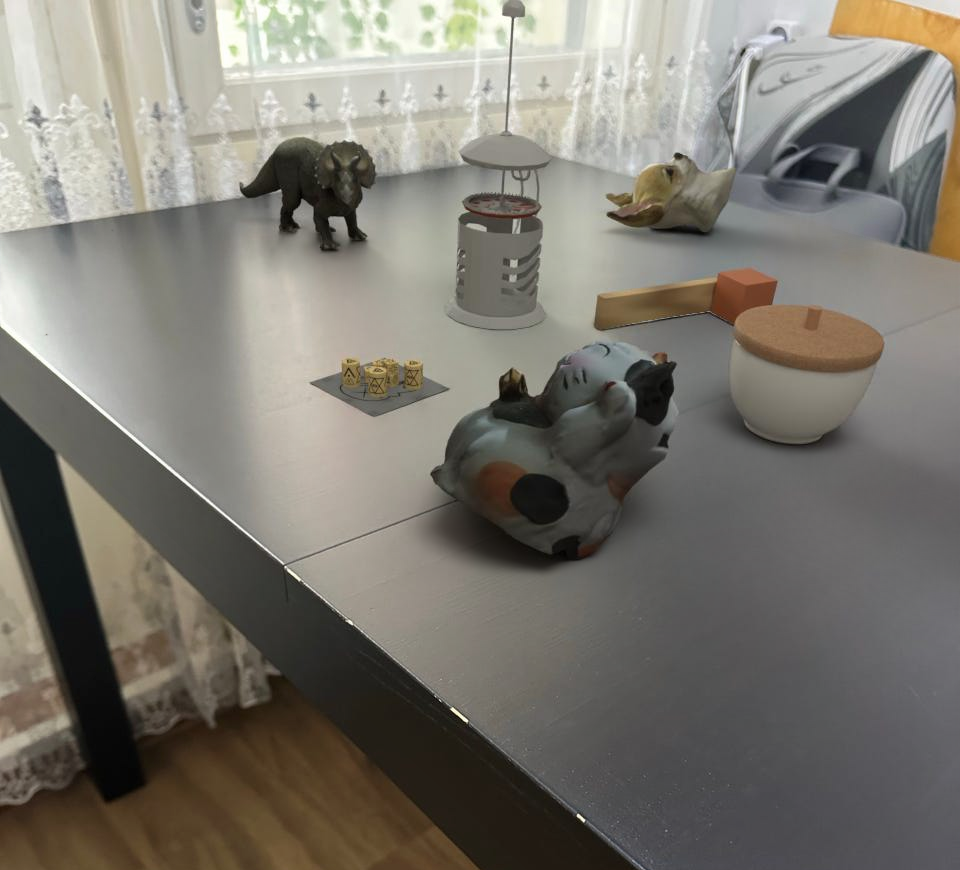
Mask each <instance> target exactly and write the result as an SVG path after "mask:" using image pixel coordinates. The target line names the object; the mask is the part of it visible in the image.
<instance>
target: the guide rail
mask: <svg viewBox="0 0 960 870" xmlns="http://www.w3.org/2000/svg"><path fill="white" fill-rule="evenodd" d="M717 278H718V276H715V277H713V276H712V277H707V278H699V279H694V280H686V281H680V282H674V283H673V282H672V283H666V284H660V285H652V286H646V287H639V288H632V289H625V290H618V291H611V292H606V293H605V292H604V293H598V294H597V295H596V296H597V297H596V305H595V312H594V319H593V320H594V321H593V327H595V328H596V329H597V330H599V329H600V331H604V330H603V329H605V330H609V329H608V328H611V329H613V328H612V327H617V328H619V327H618V326H623V325H627V324H632V323H638V322H642V321H648V320H655V319H660V318H667V317H673V316H680V315H686V314H692V313H700V312H707V311H711V307H712V303H713V298H714V293H715V288H716V283H717ZM623 327H624V326H623Z"/></svg>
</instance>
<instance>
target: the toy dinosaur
mask: <svg viewBox="0 0 960 870" xmlns="http://www.w3.org/2000/svg"><path fill="white" fill-rule="evenodd" d="M355 141H356V140H351V141H347V140H345V139H343V141H341V142H339V141H337V140H334V142H333V143H331V144H328V143H326V144H325V143H324V142H321V141H319V140H317V139H313V138H309V137H305V136H295V137H292V138H289V139H288V138H287V139H285V140H284V141H282V142H280V143H279V144H278V145H277V146H276V148H275V149H274V151H273V152H272V153H271V154H270V155H269V157H268V158H267V160H266V161H265V163H264V164H263V165H262V167H261V168H260V170H259V171H258V173H257V175H256V177H255V178H254V180H253V181H252V182H250V183H249V184H248V185H246V186H245V184H244V183H243V182H242V181H239V183H238V185H239V191H240V193H241V194H242V195H243V197H245V198H246V199H256V198H259V197H261V196H264V195H267V194H272V193H276V192H278V191H281V195H282V196H281V204H282V206H281V207H280V212H279V216H280V217H279V225H278V231H279V232H283V231H288V232H294V230H295V229H297V230H299V229H300V228H301V227H300V225H299V223H298V222H297V221H295V219H294V218H293V217H294V211H296V210H297V209H298V208H299V207H300V206H301V204H302V200H303V201H305V202H306V203H307V204H308V205H309V206H311V207H312V208H313V209H312V210H313V216H312V220H313V223H314V224H313V225H314V229H315V232H316V233H318V234H319V236H320V239H321V243H320V245H319V249H324V250H330V249H332V250H334V249H337V248H340V247H341V244H340V243H339V242H337V241H336V240H334V238H333V235H332V233H336V232H337V230H336V228H335V227H333V226H330V221H329V219H330V218H333V217H336V218H343V220H344V222H345V224H346V228H347V229H346V230H347V235H348V238H350V239H352V240H353V241H358V240H363V241H365V240H366V239H367V238H368V234H366V232H364V231H363V230H361V228H359V226H358V216H357V208H359V206H360V204H361V203H362V201H363V198H364V196H363V195H364V193H363V190H362V189H363V188H364V189H368V190H371V189H372V186H373V185H375V184H376V177H377V175H378V173H377V172H376V163H374V161H373V159H374V158H373V157H372V156H371V155H370V153H369V150H368V149H365V148H364V146H363V144H362V143H360V144H359V143H356V142H355Z"/></svg>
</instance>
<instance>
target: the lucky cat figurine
mask: <svg viewBox="0 0 960 870" xmlns="http://www.w3.org/2000/svg"><path fill="white" fill-rule="evenodd" d="M677 366H678V363H677V362H676V361H673V360H668V353H667V352H666V351H660V352H657V353H655V354H653V355H652V354H651V352H649V351H647V350H642V349H641V348H640V347H639V346H636V345H633V344H630V343H626V342H624V341H621V342H614V341H613V340H608V339H600V340H596V341H595V342H591V343H589V344H586V345H584V346H583V347H582V348H581V349H579V350H573V351H572V352H569V353H567V354H566V355H564V356H563V357H562V358H561V359H559V360H558V361H557V363H556V366H555V369H554V371H553V372H552V374H551V376H550V377H549V379H548V380H547V381H546V384H545V386H544V388H543V391H542V392H541V393H540V394H536V395H535V396H532V395H530V393H529V389H528V385H527V380H526V376H525V374H524V373H523V372H521V371H519V370H518V369H516V368H515V367H510V368H509V370H508V371H507V372H505V373H504V374H502V375H501V376H500V377H499V379H498V398H496V399H495V400H492V401H491V402H490V403H489V405H488V406H483V407H477V408H476V409H474V410H472V411H471V412H469V413H467V414H466V415H464V416H462V418H461V419H459V421H458V422H457V423H456V424H455V426H454V428H453V429H452V431H451V433H450V436H449V437H448V440H447V442H446V447H445V450H444V459H443V460H444V461H443V463H442V464H441V465H436V466H434V468H433V469H432V470H431V471H430V473H429V475H430V477H431V478H432V481H433V483H434V485H435V486H437V487H439V488H440V489H441V490H442V491H443V492H444V493H445V494H447V495H448V496H450V497H452V498H453V499H455V500H456V501H458V502H460V503H461V504H463V506H466V507H467V508H469V509H470V510H472V511H474V512H475V513H477V514H479V515H480V516H482V517H483V518H485V519H486V520H489V521H490V522H491V523H493V524H494V525H496V526H498V527H499V528H501V529H502V530H503V531H504V532H505V533H506V534H507V535H509V536H510V537H511V538H513V539H514V540H516V541H518V542H520V543H522V544H523V545H526V546H528V547H531V548H533V549H536V550H537V551H539V552H540V553H541V552H542V553H543V554H546V555H548V556H554V555H555V554H558V553H559V552H561V551H563V550H564V552H565V555H566V556H567V559H569V560H570V559H576V560H577V559H578V560H581V559H583V558H584V557H586V556H587V555H591V554H592V553H594V552H595V551H596V550H597V549H598V548H599V547H600V545H601V543H602V542H603V541H604V540H605V538H607V537H608V536H610V534H611V533H612V532H613V531H614V529H615V528H616V526H617V524H618V522H619V519H620V515H621V512H622V509H623V504H624V500H625V497H626V496H627V494H628V493H629V492H630V491H631V490H632V488H633V487H634V486H636V484H637V483H638V482H639V481H640V480H641V479H642V478H644V477H645V476H646V475H647V474H648V473H649V472H650V471H651V470H652V469H653V468H655V467H656V466H657V465H659V464H660V463H662V462H663V461H664V460H665V459H666V458H667V455H668V452H669V449H670V448H669V443H668V442H669V440H670V436H671V435H672V433H673V432H674V430H675V427H676V422H677V419H678V417H679V415H680V412H679V410H678V407H677V405H676V403H675V401H674V399H673V395H674V392H675V384H674V383H675V382H674V381H675V380H674V375H673V373H674V370H675V369H676V368H677Z"/></svg>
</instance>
